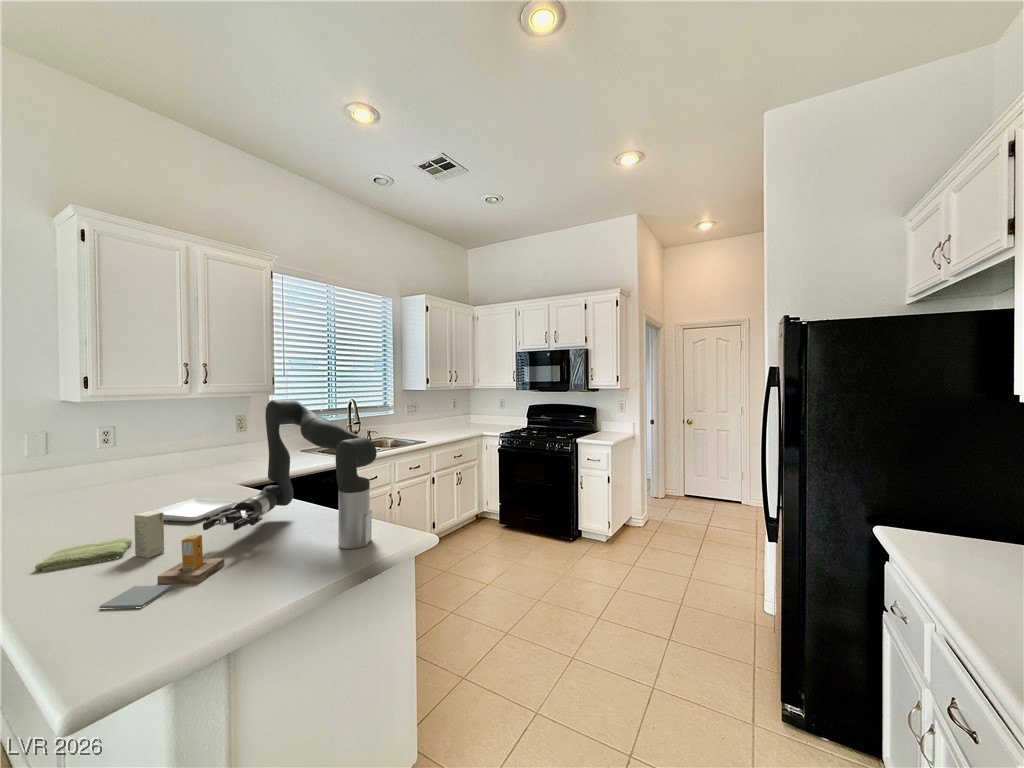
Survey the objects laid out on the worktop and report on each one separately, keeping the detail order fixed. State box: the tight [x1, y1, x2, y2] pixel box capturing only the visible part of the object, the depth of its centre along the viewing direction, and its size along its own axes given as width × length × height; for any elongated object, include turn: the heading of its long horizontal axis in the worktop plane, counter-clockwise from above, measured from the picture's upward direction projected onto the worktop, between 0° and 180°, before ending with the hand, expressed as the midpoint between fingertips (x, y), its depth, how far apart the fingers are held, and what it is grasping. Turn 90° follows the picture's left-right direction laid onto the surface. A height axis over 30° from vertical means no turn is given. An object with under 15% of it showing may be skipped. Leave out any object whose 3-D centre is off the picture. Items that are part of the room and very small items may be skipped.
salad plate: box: [153, 498, 239, 522], centre depth 158 cm, size 21×21×3 cm
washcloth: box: [34, 537, 133, 573], centre depth 118 cm, size 13×18×3 cm
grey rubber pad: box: [98, 584, 174, 609], centre depth 96 cm, size 9×9×1 cm
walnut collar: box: [157, 557, 225, 585], centre depth 108 cm, size 10×10×2 cm
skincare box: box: [134, 510, 165, 559], centre depth 121 cm, size 6×4×12 cm
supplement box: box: [181, 534, 204, 571], centre depth 108 cm, size 3×3×10 cm
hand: (219, 526), depth 119 cm, fingers open, 8 cm apart
